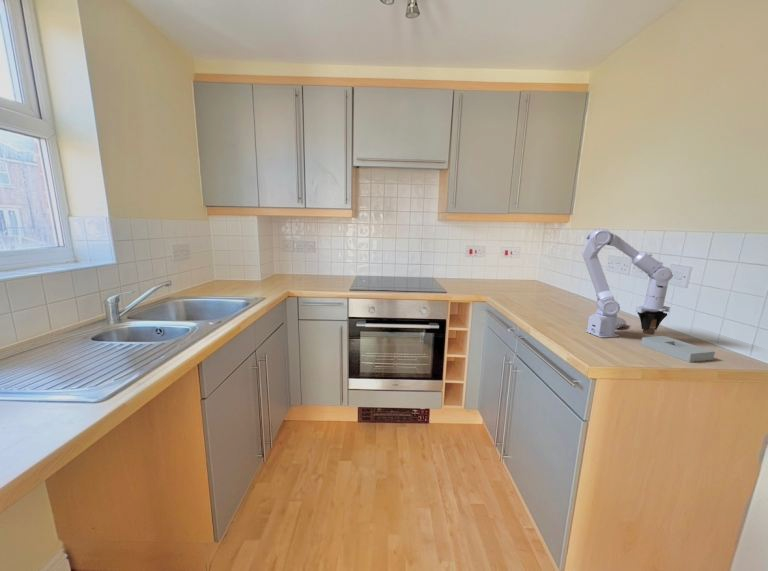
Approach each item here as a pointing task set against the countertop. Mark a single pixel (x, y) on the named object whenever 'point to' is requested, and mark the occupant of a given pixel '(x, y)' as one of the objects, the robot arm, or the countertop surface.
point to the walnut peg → (651, 327)
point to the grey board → (678, 348)
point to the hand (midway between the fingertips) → (648, 329)
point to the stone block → (620, 323)
